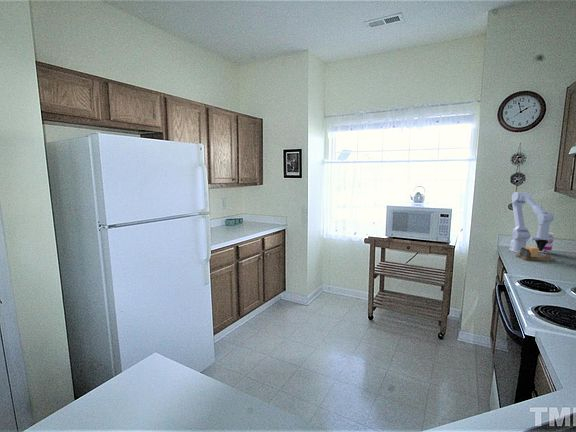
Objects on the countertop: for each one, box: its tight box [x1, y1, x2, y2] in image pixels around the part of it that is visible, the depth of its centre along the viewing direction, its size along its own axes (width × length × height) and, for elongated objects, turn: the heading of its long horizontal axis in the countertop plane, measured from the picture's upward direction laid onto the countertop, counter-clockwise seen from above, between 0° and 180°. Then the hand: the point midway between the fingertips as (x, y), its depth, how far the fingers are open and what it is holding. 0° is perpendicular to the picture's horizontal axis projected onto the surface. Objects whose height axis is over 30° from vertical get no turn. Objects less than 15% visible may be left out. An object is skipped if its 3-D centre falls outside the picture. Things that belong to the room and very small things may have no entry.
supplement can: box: [536, 231, 555, 253], centre depth 226 cm, size 8×8×15 cm
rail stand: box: [515, 247, 556, 262], centre depth 211 cm, size 10×19×7 cm, turn 88°
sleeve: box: [525, 245, 539, 257], centre depth 211 cm, size 6×4×6 cm
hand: (540, 250), depth 211 cm, fingers closed
